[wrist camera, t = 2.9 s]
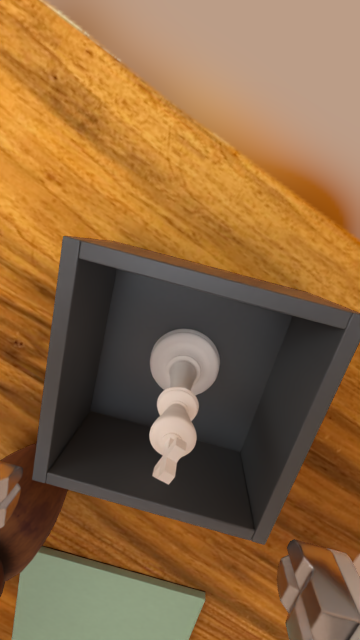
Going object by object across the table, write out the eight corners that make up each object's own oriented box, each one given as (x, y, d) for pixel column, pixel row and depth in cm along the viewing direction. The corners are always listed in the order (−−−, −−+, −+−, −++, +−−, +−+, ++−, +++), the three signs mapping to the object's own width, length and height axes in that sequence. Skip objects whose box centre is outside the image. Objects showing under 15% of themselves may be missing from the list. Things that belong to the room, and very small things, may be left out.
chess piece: (138, 370, 19) (74, 489, 10) (173, 315, 18) (140, 388, 8) (195, 404, 20) (188, 552, 10) (233, 352, 18) (268, 464, 9)
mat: (205, 591, 26) (205, 599, 25) (166, 685, 30) (166, 694, 29) (27, 541, 26) (23, 548, 25) (13, 641, 30) (10, 649, 29)
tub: (309, 292, 18) (371, 317, 11) (245, 454, 21) (265, 545, 15) (113, 241, 18) (62, 235, 11) (83, 410, 22) (31, 480, 15)
